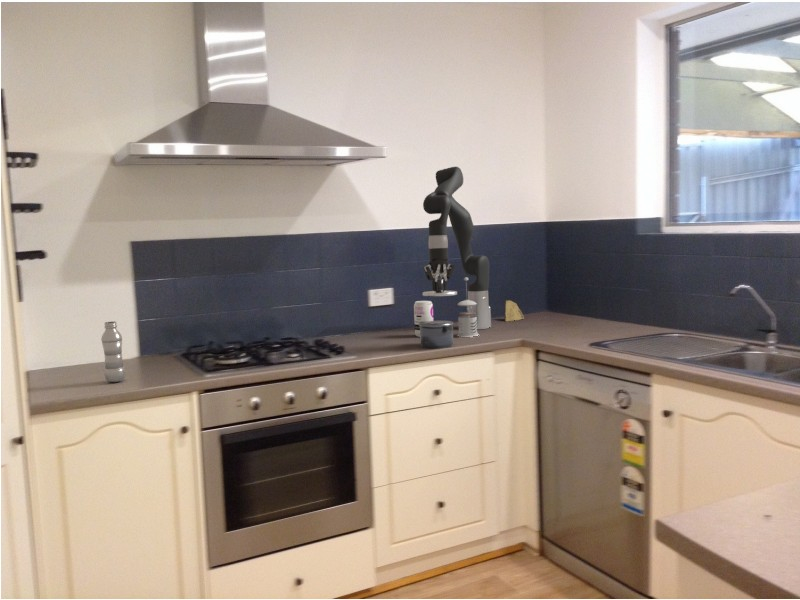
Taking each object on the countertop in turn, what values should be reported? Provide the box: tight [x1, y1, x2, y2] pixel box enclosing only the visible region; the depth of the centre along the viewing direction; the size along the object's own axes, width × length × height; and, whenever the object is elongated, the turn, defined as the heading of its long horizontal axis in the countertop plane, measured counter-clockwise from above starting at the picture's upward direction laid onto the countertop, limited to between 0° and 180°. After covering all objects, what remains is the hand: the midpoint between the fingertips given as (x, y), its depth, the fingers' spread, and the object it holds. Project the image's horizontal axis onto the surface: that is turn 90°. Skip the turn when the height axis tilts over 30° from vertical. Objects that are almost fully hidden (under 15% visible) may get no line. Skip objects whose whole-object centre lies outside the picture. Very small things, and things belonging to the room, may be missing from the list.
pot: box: [419, 320, 454, 349], centre depth 266 cm, size 14×17×9 cm
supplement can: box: [413, 300, 434, 338], centre depth 292 cm, size 8×8×15 cm
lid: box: [422, 278, 458, 297], centre depth 265 cm, size 14×14×6 cm
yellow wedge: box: [504, 299, 525, 322], centre depth 329 cm, size 11×9×10 cm
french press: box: [456, 276, 480, 338], centre depth 287 cm, size 10×12×25 cm
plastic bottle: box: [101, 321, 126, 383], centre depth 223 cm, size 6×7×20 cm
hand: (439, 290), depth 265 cm, fingers closed on lid, 3 cm apart
